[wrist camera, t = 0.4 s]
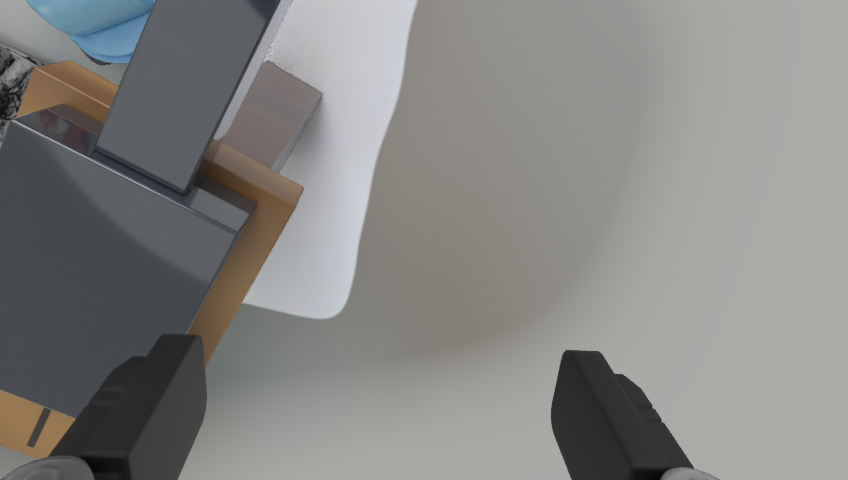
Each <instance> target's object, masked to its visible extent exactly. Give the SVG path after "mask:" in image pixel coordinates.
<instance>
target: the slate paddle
mask: <svg viewBox="0 0 848 480" xmlns="http://www.w3.org/2000/svg"><path fill="white" fill-rule="evenodd" d="M292 1H293V0H155V1H154V4H153V6H152V8H151V11H150V13H149V16H148V18H147V20H146V23H145V25H144V27H143V30H142V32H141V35H140V37H139V39H138V42H137V44H136V47H135V49H134V51H133V54H132V56H131V58H130V61H129V63H128V66H127V68H126V70H125V73H124V75H123V77H122V80H121V82H120V85H119V87H118V89H117V92H116V94H115V97H114V99H113V101H112V104H111V106H110V108H109V111H108V113H107V116H106V118H105V120H104V123H101V122H99V121H97V120H95V119H93V118H91V117H90V116H88V115H86V114H84V113H82V112H80V111H78V110H76V109H74V108H72V107H70V106H69V105H67V104H64V103H61V104H58V105H55V106H51V107H48V108H45V109H41V110H38V111H35V112H31V113H28V114H25V115H22V116H18V117H15V118H12V119H11V120H10V122H9V124H8V127H7V130H6V133H5V135H4V138H3V141H2V144H1V146H0V390H1V391H4V392H7V393H9V394H12V395H14V396H17V397H20V398H22V399H25V400H27V401H30V402H33V403H35V404H38V405H40V406H43V407H46V408H48V409H51V410H53V411H56V412H59V413H61V414H64V415H66V416H69V417H72V418H74V419H76V418H77V417H78V415H79V414H80V413H81V411H82V410H83V409H84V407H85V406H88V402H89V401H90V399H91V398H92V397H93V395H94V394H95V393H96V391H99V387H100V386H101V385H102V383H103V382H104V381H105V379H106V378H107V377H108V375H109V374H110V373H111V371H112V370H114V369H115V368H117V367H118V366H120V365H121V364H123V363H124V362H126V361H127V360H129V359H130V358H132V357H133V356H143V357H146V356H147V355H148V353H149V352H150V350H151V349H152V347H153V346H154V345H155V343H156V342H157V340H158V339H159V337H160V336H161V335H162V334H188V335H189V333H190V331H191V329H192V328H193V326H194V324H195V322H196V320H197V318H198V317H199V315H200V313H201V311H202V309H203V307H204V305H205V304H206V302H207V300H208V298H209V296H210V294H211V292H212V291H213V289H214V287H215V285H216V283H217V281H218V280H219V278H220V276H221V274H222V272H223V270H224V268H225V267H226V265H227V263H228V261H229V259H230V257H231V256H232V254H233V252H234V250H235V248H236V246H237V244H238V243H239V241H240V239H241V237H242V235H243V233H244V232H245V230H246V228H247V226H248V224H249V222H250V220H251V219H252V217H253V215H254V213H255V211H256V209H257V204H256V203H254V202H252V201H250V200H248V199H246V198H244V197H242V196H240V195H238V194H236V193H235V192H233V191H231V190H229V189H227V188H225V187H223V186H221V185H219V184H217V183H215V182H214V181H212V180H210V179H208V178H206V177H204V176H205V175H206V174H207V172H208V170H209V168H210V166H211V164H212V162H213V160H214V158H215V156H216V154H217V152H218V150H219V148H220V146H221V144H222V142H223V140H224V138H225V136H226V134H227V132H228V130H229V128H230V126H231V124H232V122H233V120H234V118H235V116H236V114H237V112H238V110H239V108H240V106H241V104H242V102H243V100H244V98H245V96H246V94H247V92H248V90H249V88H250V86H251V84H252V82H253V80H254V78H255V76H256V74H257V71H258V69H259V67H260V65H261V63H262V61H263V59H264V57H265V55H266V53H267V51H268V49H269V47H270V45H271V43H272V41H273V39H274V37H275V35H276V33H277V31H278V29H279V27H280V25H281V23H282V21H283V19H284V17H285V15H286V13H287V11H288V9H289V7H290V5H291V3H292Z"/></svg>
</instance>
